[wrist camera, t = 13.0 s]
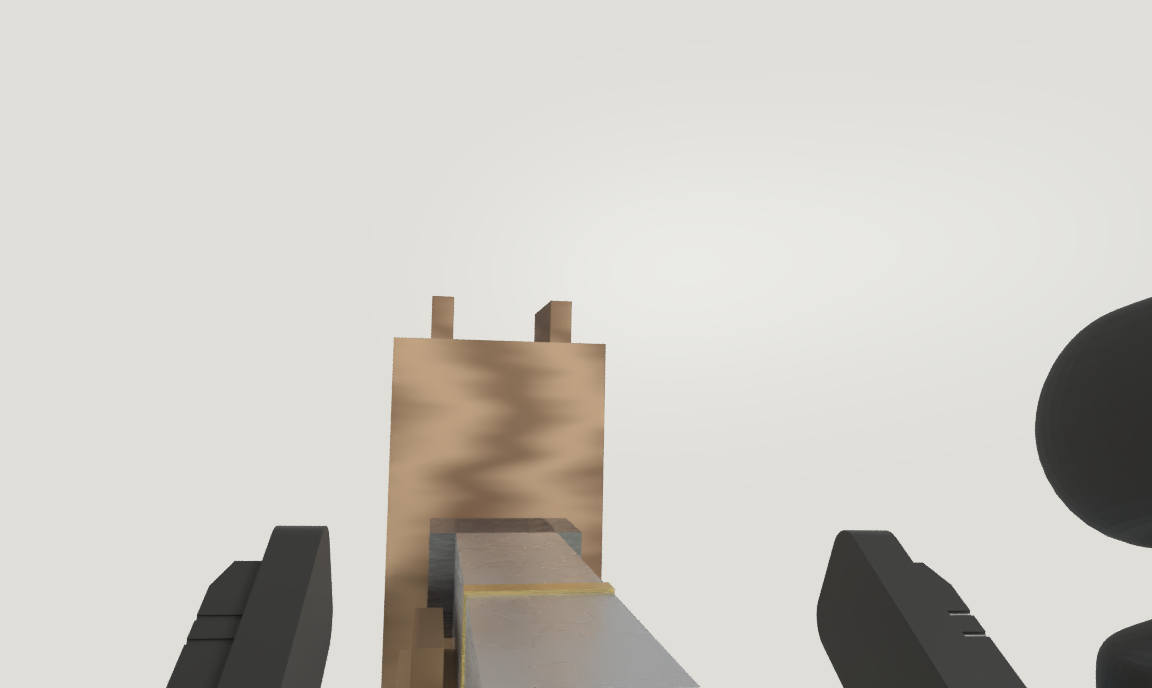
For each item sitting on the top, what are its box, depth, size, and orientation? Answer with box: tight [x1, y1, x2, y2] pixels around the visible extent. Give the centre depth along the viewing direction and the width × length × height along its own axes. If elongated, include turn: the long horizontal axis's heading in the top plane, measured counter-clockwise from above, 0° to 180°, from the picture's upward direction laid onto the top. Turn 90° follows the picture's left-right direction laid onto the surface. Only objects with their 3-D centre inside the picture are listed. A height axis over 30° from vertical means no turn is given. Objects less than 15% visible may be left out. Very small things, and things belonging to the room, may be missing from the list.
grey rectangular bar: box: [427, 518, 700, 688], centre depth 26 cm, size 22×6×4 cm, turn 10°
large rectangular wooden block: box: [381, 296, 605, 688], centre depth 44 cm, size 10×11×34 cm
